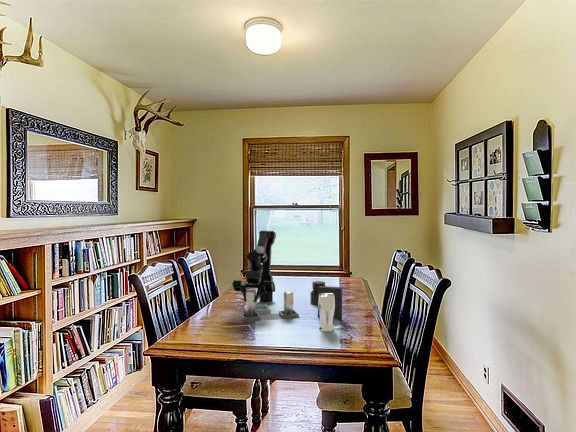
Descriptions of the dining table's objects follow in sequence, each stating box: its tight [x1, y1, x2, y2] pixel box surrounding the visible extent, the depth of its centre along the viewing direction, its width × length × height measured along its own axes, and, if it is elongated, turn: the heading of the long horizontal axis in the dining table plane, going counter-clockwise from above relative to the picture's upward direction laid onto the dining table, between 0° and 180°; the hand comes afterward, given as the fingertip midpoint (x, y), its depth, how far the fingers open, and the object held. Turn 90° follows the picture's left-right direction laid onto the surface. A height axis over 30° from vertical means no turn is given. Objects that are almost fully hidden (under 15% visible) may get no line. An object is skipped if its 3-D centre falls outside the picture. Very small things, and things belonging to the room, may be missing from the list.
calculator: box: [317, 285, 343, 322], centre depth 190 cm, size 11×4×15 cm, turn 71°
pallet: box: [239, 309, 301, 323], centre depth 190 cm, size 27×10×2 cm, turn 104°
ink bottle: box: [309, 280, 326, 306], centre depth 218 cm, size 10×9×12 cm
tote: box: [243, 303, 272, 315], centre depth 201 cm, size 11×11×3 cm
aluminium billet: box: [245, 290, 257, 317], centre depth 188 cm, size 4×4×11 cm
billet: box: [283, 290, 294, 315], centre depth 193 cm, size 4×4×11 cm
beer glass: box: [317, 293, 335, 333], centre depth 174 cm, size 7×7×15 cm
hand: (249, 301), depth 187 cm, fingers closed on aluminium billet, 4 cm apart
